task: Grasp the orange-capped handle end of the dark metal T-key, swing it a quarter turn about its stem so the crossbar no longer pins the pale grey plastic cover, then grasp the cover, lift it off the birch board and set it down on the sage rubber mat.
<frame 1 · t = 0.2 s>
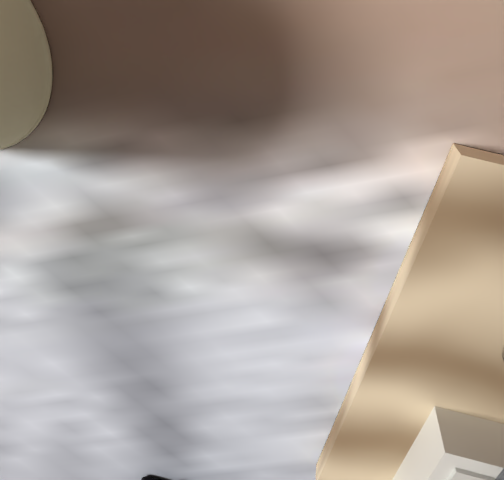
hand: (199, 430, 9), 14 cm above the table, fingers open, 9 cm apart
board: (500, 372, 25), on the table
cover: (459, 467, 27), point 1 cm above the table, touching board
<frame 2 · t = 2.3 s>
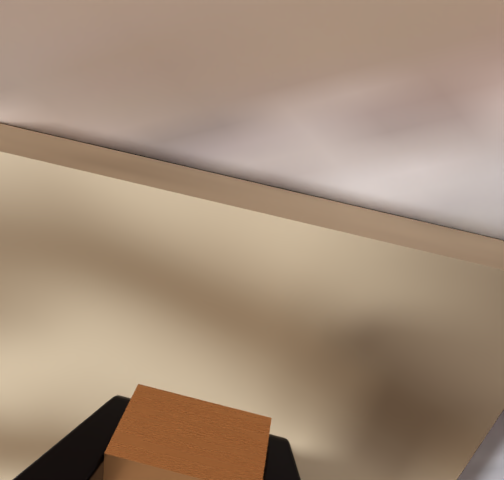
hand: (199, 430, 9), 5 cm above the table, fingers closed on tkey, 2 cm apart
board: (205, 463, 17), on the table
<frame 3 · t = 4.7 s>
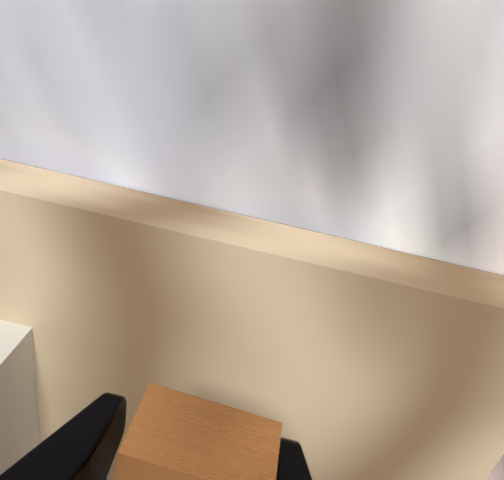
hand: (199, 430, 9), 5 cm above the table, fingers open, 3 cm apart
board: (120, 381, 15), on the table
when the fingers open (2 cm above the table, at t = 12.0 s): cover stays where it is, resting on mat.
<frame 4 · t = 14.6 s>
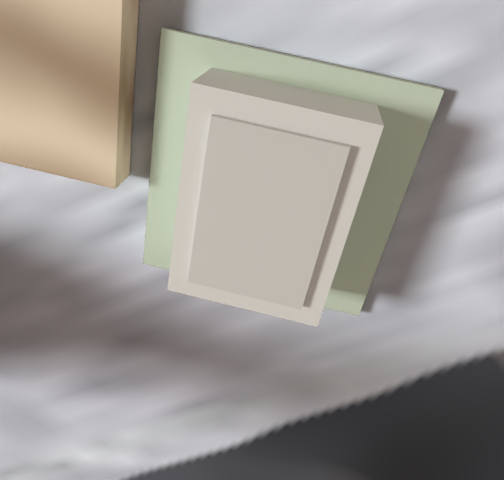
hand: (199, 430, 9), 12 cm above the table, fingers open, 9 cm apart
mat: (273, 185, 19), on the table
cover: (271, 187, 19), resting on mat
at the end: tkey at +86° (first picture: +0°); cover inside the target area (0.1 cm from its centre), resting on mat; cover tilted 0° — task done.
